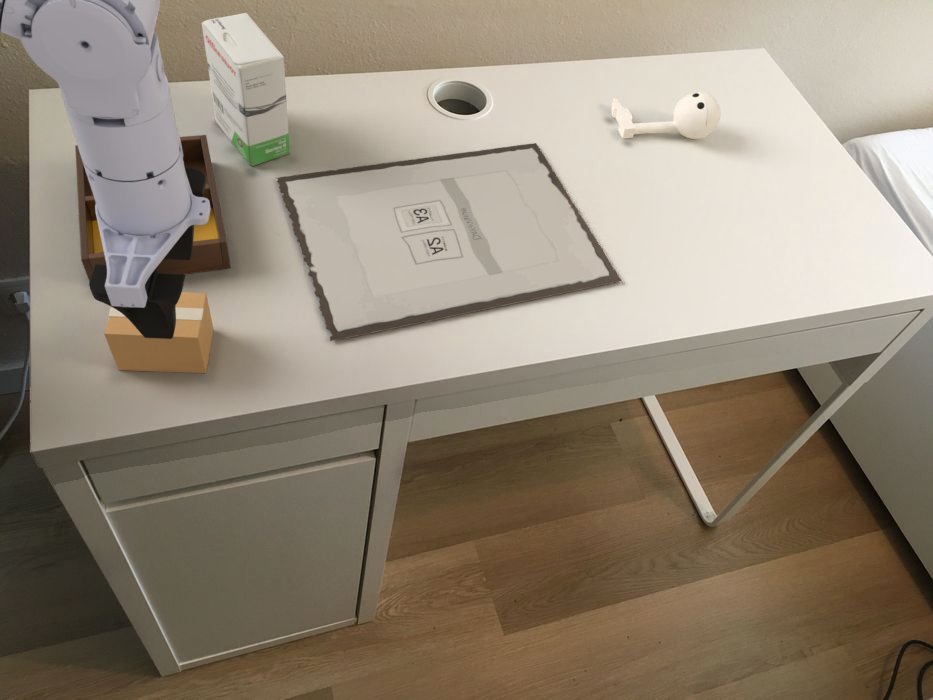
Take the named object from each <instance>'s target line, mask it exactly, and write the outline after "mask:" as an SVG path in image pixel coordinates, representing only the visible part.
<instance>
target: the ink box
mask: <svg viewBox="0 0 933 700" xmlns="http://www.w3.org/2000/svg"><path fill="white" fill-rule="evenodd" d="M201 29H202V35H203V43H204V50H205V56H206V63H207V69H208V78H209V83H210V92H211V97H212V106H213V113H214V119H215V120H214V121H215V123H216V124H217V125H218V126H219V128H220V129H221V130H222V131H223V133H224V134H225V135H226V137H227V138H228V139H229V141H230V142H231V143H232V144H233V145H234V147H235V148H236V149H237V150H238V152H239V153H240V155H241V156H242V157H243V158H244V159H245V161H246V163H248V165H249V166H252V167H253V166H257V165H260V164H262V163H266V162H269V161H272V160H274V159H277V158H281V157H283V156H286V155H288V154H290V153H291V148H290V147H291V146H290V136H289V135H290V133H289V119H288V103H287V102H288V101H287V88H286V87H287V86H286V85H287V84H286V70H285V58H284V56H283V54H282V53H281V51H279V49H278V48H277V47H276V46H275V45H274V43H272V41H271V40H270V38H269V37H267V35H266V34H265V33H264V32H263V30H262V29H261V28H260V27H259V26H258V25H257V23H256V22H255V21H254V20H253V19H252V18H251V16H250V15H249V13H248V12H244V13H237V14H232V15H228V16H222V17H215V18H210V19H207V20H204V21H202V22H201Z"/></svg>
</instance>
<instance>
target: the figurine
mask: <svg viewBox="0 0 933 700" xmlns="http://www.w3.org/2000/svg"><path fill="white" fill-rule="evenodd" d="M610 113H611V118H613V119H615V121H616V123H617V124H618V128H617V131H618V133H619V135H620V138H621V139H633V138H634V135H644V134H654V133H655V134H656V133H667V132H669V133H670V132H678V133H679V134H680V135H682V136H683V137H684V138H687V139H691V140H699V139H703V138H706V137H708V136H709V135H711V134H712V133H713V132H714V131H715V130H716V128H717V127H718V125H719V123H720V120H721V113H722V112H721V106H720V104H719V102H718V101H717V99H716V98H715V96H713V95H711V94H710V93H708V92H703V91H694V92H691V93H689V94H686V95H685V96H683V97H681V99H679V101H678V102H677V104H676V105H675V107H674V110H673V115H672V121H654V122H652V121H651V122H637V123H634V122H633V117H634V116H633V114H632V113H631V111H630V109H629V108H626V107H624V106H622V104H621V102H620V101H619V100H618V98H617V97H613V99H612V103H611V107H610Z"/></svg>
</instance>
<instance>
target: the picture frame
mask: <svg viewBox="0 0 933 700" xmlns="http://www.w3.org/2000/svg"><path fill="white" fill-rule="evenodd" d="M276 179H277V180H276V183H277V184H278V185H280V186H279V187H278V188H279V190H280V191H279V192H280V193H281V194H282V196H281V198H282V201H283V203H284V204H285V206H284V207H285V208H286V209H287V211H288V212H289V215H288V217H289V219H290V220H291V221H292V223H291V226H292V227H293V228H292V231H293V233H294V236H295V237H296V238H297V239H296V242H298V244H299V247H300V250H301V254H302V255H304V257H303V262H305V263H306V264H307V266H308V270H309V271H308V273H307V275H308V276H309V277H310V278H311V280H312V285H313V288H314V289H315V291H314V295H315V296H316V297H319V300H318V303H319V307H318V308H319V311H320V312H321V316H322V317H323V319H324V324H325V326H326V327H325V329H326V330H328V331H331V335H330V336H329V342H333V341H334V342H335V341H338V340H339V341H340V340H343V339H344V340H345V339H348V338H354V337H358V336H363V335H368V334H372V333H377V332H382V331H387V330H391V329H392V330H393V329H397V328H401V327H406V326H407V327H408V326H412V325H416V324H420V323H426V322H431V321H436V320H441V319H445V318H449V317H450V318H451V317H454V316H459V315H460V316H461V315H464V314H465V315H466V314H470V313H474V312H479V311H480V312H481V311H484V310H489V309H494V308H499V307H503V306H508V305H513V304H518V303H522V302H528V301H532V300H537V299H543V298H547V297H552V296H556V295H561V294H566V293H571V292H576V291H581V290H585V289H586V290H587V289H590V288H595V287H600V286H605V285H610V284H616V283H620V282H622V279H621V277H620V276H619V274H618V272H617V271H616V270H615V269H614V267H613V265H612V263H611V262H610V260H609V258H608V257H607V255H606V254H605V252H604V249H603V248H602V246H601V245H600V243H599V242H598V240H597V239H596V237H595V235H594V233H592V232H591V229H590V228H589V226H588V224H587V223H586V221H585V220H584V218H583V215H581V214H580V212H579V210H578V208H577V207H576V205H575V203H573V202H572V199H571V197H570V196H569V194H568V193H567V191H566V189H565V188H564V186H563V184H562V182H561V180H560V179H559V178H558V176H557V174H556V172H555V171H554V170H553V168H552V166H551V165H550V163H549V161H548V160H547V158H546V155H544V154H543V152H542V150H541V148H540V146H539V145H538V144H537V142H535V143H534V142H533V143H526V144H517V145H511V146H501V147H497V148H488V149H487V148H486V149H481V150H475V151H466V152H457V153H451V154H443V155H436V156H430V157H429V156H428V157H422V158H421V157H419V158H415V159H413V158H412V159H407V160H406V159H405V160H398V161H389V162H383V163H377V164H369V165H359V166H353V167H345V168H338V169H332V170H331V169H330V170H324V171H323V170H322V171H316V172H308V173H302V174H301V173H300V174H293V175H287V176H286V175H285V176H280V177H276Z"/></svg>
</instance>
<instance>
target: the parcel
mask: <svg viewBox="0 0 933 700" xmlns="http://www.w3.org/2000/svg"><path fill="white" fill-rule="evenodd" d="M103 334H104V337H105V339H106V342H107V344H108V347H109V350H110V352H111V355H112V357H113V360H114V363H115V365H116V367H117V370H118V371H130V372H131V371H133V372H136V371H137V372H161V373H190V374H194V373H195V374H207V372H208V371H207V370H208V365H209V360H210V359H209V358H210V354H211V347H212V343H213V342H212V341H213V336H214V324H213V320H212V313H211V309H210V304H209V300H208V294H207V293H206V292H186V291H182V293H181V296H180V298H179V300H178V303H177V304H176V326H175V331H174V336H173V338H172V339H160V338H145V337H144V336H143V335H142V334H141V333H140V332H139V331H138V329H137V328H136V327H135V326H134V325H133V324H132V323H131V321H130V320H129V319H128V318H127V317H126V316H124V315H123V314H122V313H121V312H119V311H118V310H116V309H115V308H113V307H111V306H110V309H109V312H108V319H107V322H106V326H105V330H104V333H103Z"/></svg>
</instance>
